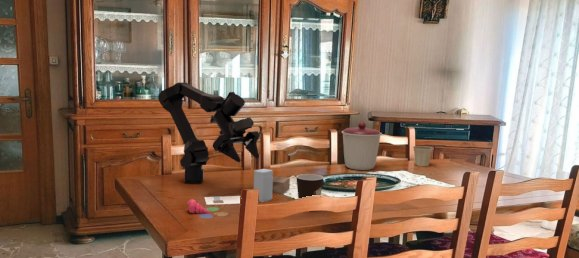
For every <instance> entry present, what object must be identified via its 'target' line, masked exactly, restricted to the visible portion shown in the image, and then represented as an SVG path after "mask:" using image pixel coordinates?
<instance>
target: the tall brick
mask: <svg viewBox="0 0 579 258" xmlns="http://www.w3.org/2000/svg"><path fill="white" fill-rule="evenodd" d="M273 176H274V170H272V169H268V168H262V169H261V168H260V169H257V170H254V171H253V190H254V189H259V201H258V202H259V203H265V202H269V201H272V200H273V193H272V189H273Z"/></svg>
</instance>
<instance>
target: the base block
mask: <svg viewBox="0 0 579 258" xmlns="http://www.w3.org/2000/svg"><path fill="white" fill-rule="evenodd" d="M290 179H291V178H290V177H281V176H274V175H273V189H272V194H281V195H283V194H285V193H286V192H288V191H289V190H290V182H291V180H290Z"/></svg>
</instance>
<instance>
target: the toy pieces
mask: <svg viewBox="0 0 579 258" xmlns="http://www.w3.org/2000/svg"><path fill="white" fill-rule="evenodd" d="M186 205H188V211H189V214H200V215H198V217H199V218H202V219H213V218H214V215H216V216H218V217H225V216H227V215H229V212H225V211H221V212H220V207H215V206H210V207H207V208H205V207H204V206H203V205H201V204H200V203H199V202H197V200H195V199H194V198H191V199H189V200H188V201H187V203H186ZM217 211H219V212H217ZM212 212H214V213H213V215H212V214H211V213H212Z"/></svg>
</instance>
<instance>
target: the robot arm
mask: <svg viewBox="0 0 579 258" xmlns="http://www.w3.org/2000/svg"><path fill="white" fill-rule="evenodd" d="M185 98H188V99H190V100H191V101H193V102H195V103H197V104H198V105H199V107H200V108H201V109H202V110H203V111H204V112H206V113H214V114H212V115H210V120H209V123H210V124H215V123H216V125H217V126H218V128H219V130H220V131H219V134H220V135H218V136H217V138H216V139H215V140H214V141H213V143H212V148H213V149H214V151H215V152H218V153H219V154H220V153H221V154H223V155H225V156H227V157H229V158H230V159H232V160H234V161H235V162H237V163H240V162H241V161H242V160H241V157H240V156H239V154H238V152H237V151H236V148H235V146H234V145H235V144H240V143H241V144H242V145H243V146H245V147H244V148H245V149H246V150H247V151H248V152H249V153H250V154H251V155H252V156H253V157H254V158H255V159H257V160H258V159H259V158H260V154H259V150H258V145H257V143H258V140H259V139H260V137H261V134H260V133H259V131H258V130H257V131H256V130H254V131H253V130H252V131H248V132H247V130H249V129H252V128H253V127H254V125H255V123H254V119H253V118H251V116H250V117H249V116H248V117H246V118H242V119H239V120H236V121H235V119H233V117H236V116H237V115H238V114H239V112H240V111H241V109H243V107H244V106H245V104H246V102H245V99H244V98H243V97H241V96H240V95H239V94H237V93H236V92H235V91H230V92H229V93H227V96H226V97H225V98H224V97H223V96H220V95H218V94H212V93H211V94H210V93H207V92H204V91H203V90H201V89H198V88H197V87H195V86H193V85H190V84H189V83H188V82H185V81H182V82H181V81H180V82H179V81H178V82H176V83H174V84H173V85H172V86H169V87H167V88H165V89H163V90H161V91H160V92H159V94H158V102H159V104H160V105H161V107H162V108H163V109H164V110H165V111H167V112H168V113H169V114H170V116H171V118H172V120H173V122H174V125H175V127H176V129H177V131H178V133H179V135H180V138H181V140H182V142H183V144H184V146H183V147H184V148H183V156H182V158H181V159H180V160H179V161H180V166H181V168H184V180H183V183H184V184H202V182H203V181H204V180H205V178H204V177H205V176H204V175H205V174H204V173H205V169H204V168H203V166H206V165H207V162H208V158H209V156H210V153H209V150H208V149H209V148H208V147H207V144H206V142H205V141H204V139H202V140H201V139H200V140H199V139H198V138H197V136H196V134H195V133H194V131H193V128H192V126H191V124H190V122H189V120H188V119H189V118H187V116H186V113H185V111H184V109H183V103H184V101H183V99H185ZM246 132H247V133H246ZM245 133H246V135H245Z"/></svg>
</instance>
